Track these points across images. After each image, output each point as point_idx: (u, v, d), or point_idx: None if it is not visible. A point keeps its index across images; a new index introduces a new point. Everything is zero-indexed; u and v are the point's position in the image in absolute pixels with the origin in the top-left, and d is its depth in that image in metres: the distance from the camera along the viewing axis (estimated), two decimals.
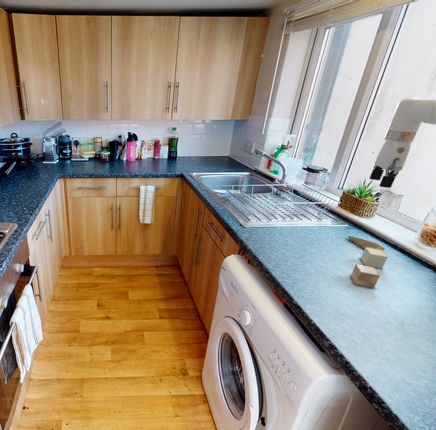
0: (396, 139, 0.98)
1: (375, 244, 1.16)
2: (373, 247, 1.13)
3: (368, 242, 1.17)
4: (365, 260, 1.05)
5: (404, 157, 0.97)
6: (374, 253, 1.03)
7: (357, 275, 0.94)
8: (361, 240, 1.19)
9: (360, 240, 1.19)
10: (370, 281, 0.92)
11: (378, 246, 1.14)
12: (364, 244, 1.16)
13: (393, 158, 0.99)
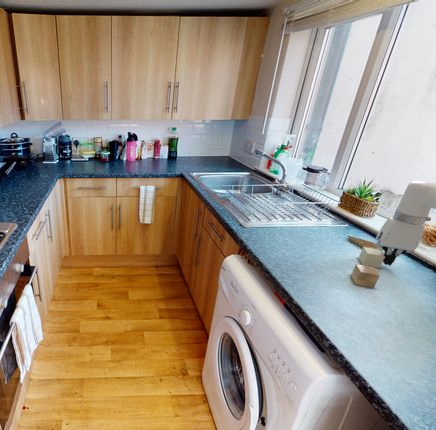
0: None
1: None
2: (373, 247, 1.13)
3: (367, 242, 1.17)
4: (363, 260, 1.05)
5: None
6: (372, 253, 1.03)
7: (357, 275, 0.94)
8: (361, 240, 1.19)
9: (360, 240, 1.18)
10: (370, 281, 0.92)
11: None
12: (364, 244, 1.16)
13: None
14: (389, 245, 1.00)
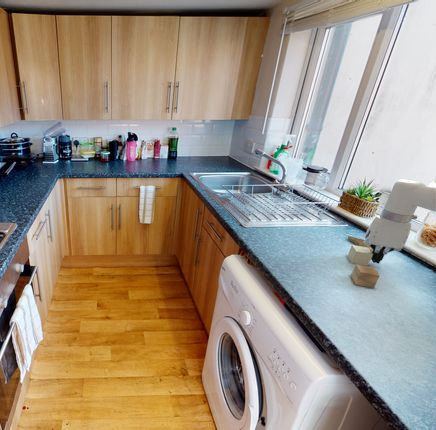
0: (409, 221, 0.95)
1: None
2: None
3: None
4: (351, 257, 1.06)
5: None
6: (360, 250, 1.04)
7: (357, 275, 0.94)
8: (361, 240, 1.18)
9: (360, 240, 1.18)
10: (370, 281, 0.92)
11: None
12: None
13: None
14: (377, 243, 1.01)
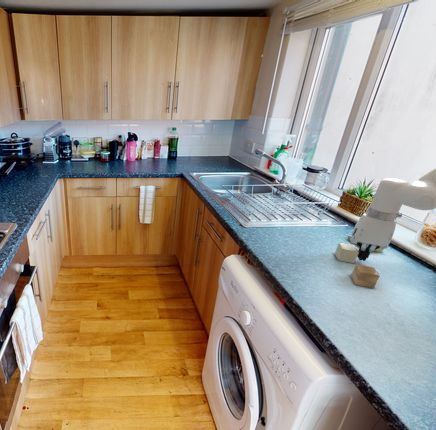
0: (394, 219, 0.97)
1: None
2: None
3: None
4: (338, 255, 1.08)
5: None
6: (347, 248, 1.06)
7: (357, 275, 0.94)
8: None
9: None
10: (370, 281, 0.92)
11: None
12: None
13: None
14: (363, 241, 1.02)
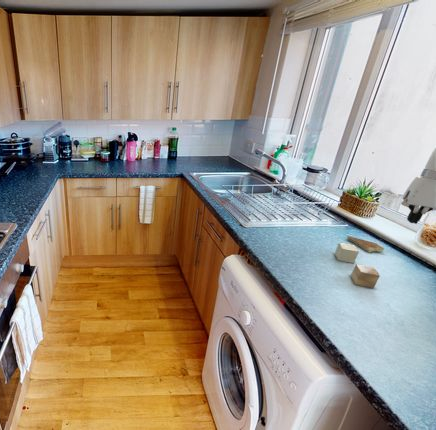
0: None
1: (374, 244, 1.16)
2: (373, 247, 1.13)
3: (367, 242, 1.17)
4: (338, 255, 1.08)
5: None
6: (347, 248, 1.06)
7: (357, 275, 0.94)
8: (360, 240, 1.18)
9: (359, 240, 1.18)
10: (370, 281, 0.92)
11: (377, 246, 1.14)
12: (364, 244, 1.15)
13: None
14: (416, 203, 1.03)
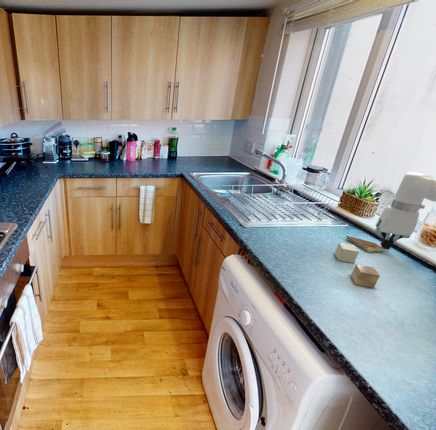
0: (417, 210, 1.04)
1: (374, 244, 1.16)
2: (372, 247, 1.13)
3: (366, 242, 1.17)
4: (338, 255, 1.08)
5: None
6: (347, 248, 1.06)
7: (357, 275, 0.94)
8: (360, 240, 1.18)
9: (359, 240, 1.18)
10: (370, 281, 0.92)
11: (377, 246, 1.14)
12: (363, 244, 1.15)
13: None
14: (387, 231, 1.10)
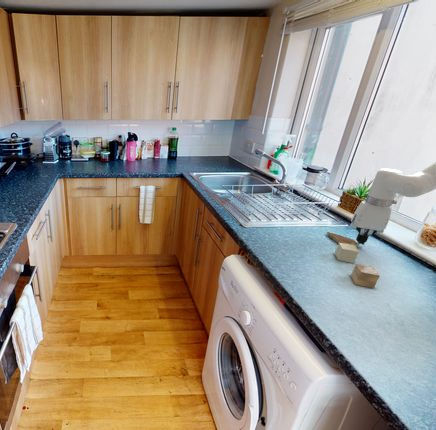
0: (390, 206, 1.07)
1: (351, 240, 1.18)
2: (347, 243, 1.16)
3: (344, 238, 1.20)
4: (338, 255, 1.08)
5: None
6: (347, 248, 1.06)
7: (357, 275, 0.94)
8: (338, 236, 1.21)
9: (337, 236, 1.22)
10: (370, 281, 0.92)
11: (353, 242, 1.17)
12: (339, 240, 1.19)
13: None
14: (362, 226, 1.13)
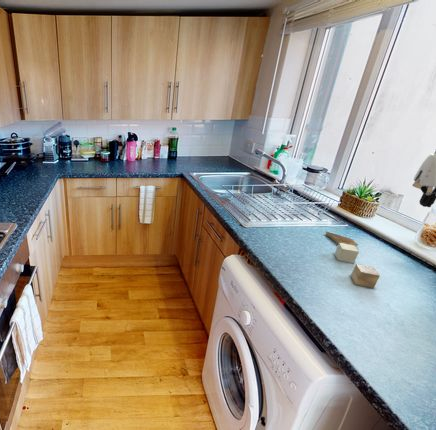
0: None
1: (350, 240, 1.18)
2: (346, 242, 1.16)
3: (343, 238, 1.20)
4: (338, 255, 1.08)
5: None
6: (347, 248, 1.06)
7: (357, 275, 0.94)
8: (337, 236, 1.22)
9: (336, 236, 1.22)
10: (370, 281, 0.92)
11: (352, 242, 1.17)
12: (338, 239, 1.19)
13: None
14: (430, 184, 0.93)
